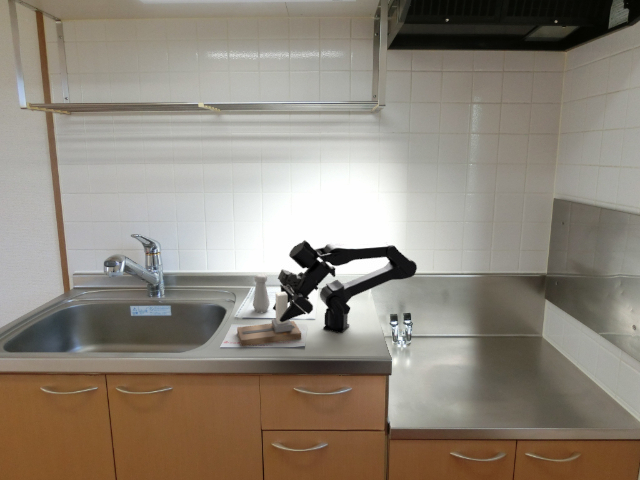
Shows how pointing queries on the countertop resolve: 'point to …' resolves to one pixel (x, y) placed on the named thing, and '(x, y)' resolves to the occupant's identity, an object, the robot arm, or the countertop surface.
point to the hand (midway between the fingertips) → (277, 315)
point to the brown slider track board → (265, 334)
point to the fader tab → (281, 313)
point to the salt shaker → (261, 294)
